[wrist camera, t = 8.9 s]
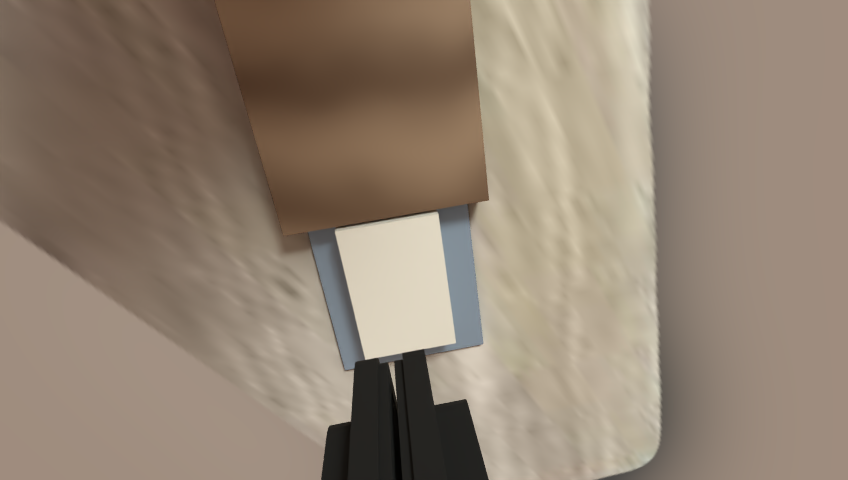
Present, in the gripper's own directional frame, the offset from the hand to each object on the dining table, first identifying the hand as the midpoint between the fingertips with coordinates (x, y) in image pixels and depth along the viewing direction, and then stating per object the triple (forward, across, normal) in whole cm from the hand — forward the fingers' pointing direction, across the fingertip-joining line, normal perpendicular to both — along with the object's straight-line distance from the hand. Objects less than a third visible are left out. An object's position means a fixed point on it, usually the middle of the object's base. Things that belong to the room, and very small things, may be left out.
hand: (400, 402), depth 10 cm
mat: (+17, 0, +6) cm, 18 cm away
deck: (+18, 0, -7) cm, 19 cm away
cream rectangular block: (+17, 0, +6) cm, 18 cm away
